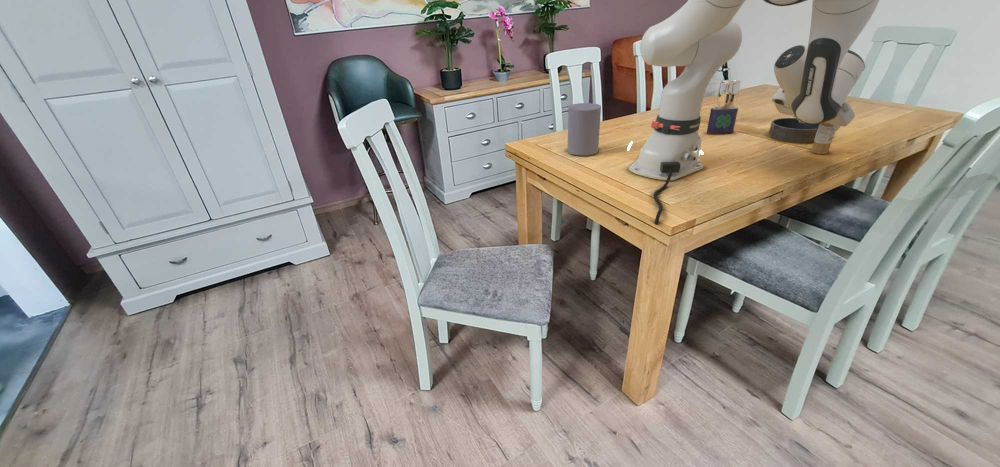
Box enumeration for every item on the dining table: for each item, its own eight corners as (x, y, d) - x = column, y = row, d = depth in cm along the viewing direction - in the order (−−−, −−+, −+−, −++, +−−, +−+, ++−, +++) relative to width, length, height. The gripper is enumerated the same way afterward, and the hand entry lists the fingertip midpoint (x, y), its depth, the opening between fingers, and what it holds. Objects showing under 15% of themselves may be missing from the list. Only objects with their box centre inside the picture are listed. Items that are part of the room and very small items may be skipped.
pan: (814, 146, 133) (818, 132, 130) (762, 138, 142) (765, 125, 140) (825, 134, 141) (829, 121, 139) (775, 128, 151) (779, 115, 149)
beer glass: (708, 120, 165) (716, 81, 157) (723, 118, 166) (731, 79, 159) (721, 124, 159) (730, 83, 151) (736, 122, 160) (745, 81, 153)
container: (573, 145, 147) (574, 102, 140) (601, 148, 143) (604, 104, 135) (562, 154, 139) (563, 109, 132) (592, 157, 135) (595, 111, 127)
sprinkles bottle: (819, 149, 130) (833, 105, 123) (832, 153, 126) (847, 108, 120) (806, 151, 129) (820, 107, 123) (819, 155, 125) (833, 110, 119)
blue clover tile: (731, 131, 151) (737, 101, 145) (734, 133, 148) (741, 103, 143) (705, 132, 151) (710, 102, 146) (708, 135, 149) (714, 104, 144)
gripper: (854, 91, 106) (865, 124, 114) (781, 80, 123) (794, 109, 131) (836, 111, 107) (848, 142, 115) (766, 98, 124) (780, 125, 132)
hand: (819, 124), depth 123 cm, fingers open, 8 cm apart
